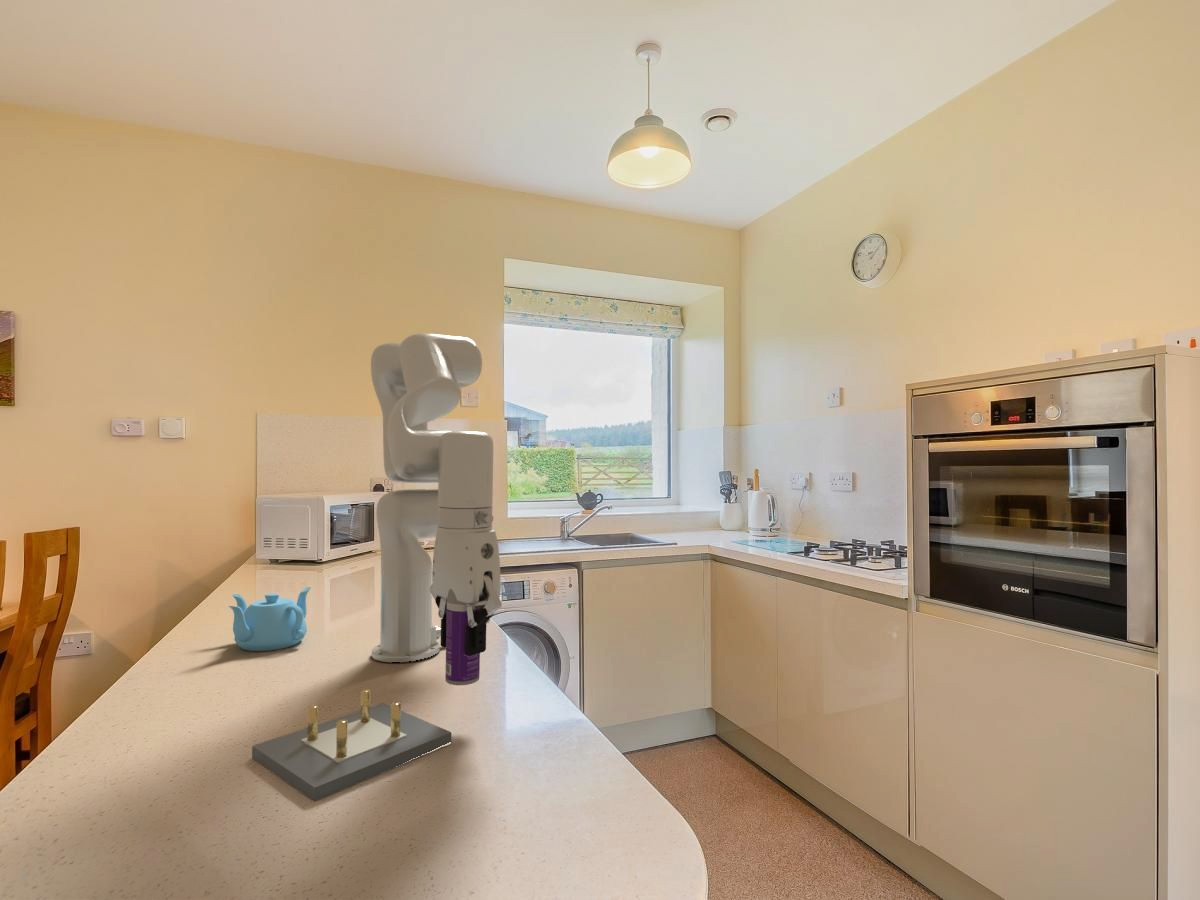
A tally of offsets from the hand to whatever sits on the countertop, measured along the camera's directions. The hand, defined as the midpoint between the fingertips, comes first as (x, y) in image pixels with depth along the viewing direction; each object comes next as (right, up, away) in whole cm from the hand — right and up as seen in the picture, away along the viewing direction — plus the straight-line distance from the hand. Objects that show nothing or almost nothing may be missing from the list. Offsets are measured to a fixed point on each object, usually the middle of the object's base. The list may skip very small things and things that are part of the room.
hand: (463, 647), depth 87 cm
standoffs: (-12, -9, -8) cm, 17 cm away
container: (0, -5, 0) cm, 5 cm away
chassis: (-12, -10, -8) cm, 18 cm away
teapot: (-49, -12, +40) cm, 64 cm away
